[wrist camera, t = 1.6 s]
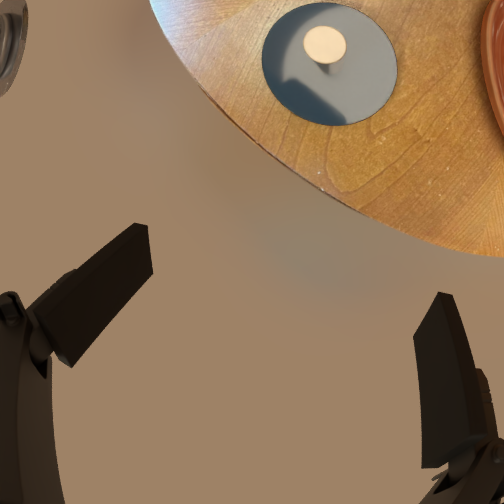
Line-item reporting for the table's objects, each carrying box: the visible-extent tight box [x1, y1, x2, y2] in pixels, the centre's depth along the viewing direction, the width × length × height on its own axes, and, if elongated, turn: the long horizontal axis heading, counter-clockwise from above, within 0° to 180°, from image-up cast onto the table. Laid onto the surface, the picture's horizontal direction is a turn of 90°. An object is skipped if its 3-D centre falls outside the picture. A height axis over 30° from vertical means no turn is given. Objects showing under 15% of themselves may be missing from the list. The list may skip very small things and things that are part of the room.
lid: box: [262, 3, 398, 126], centre depth 17 cm, size 12×12×10 cm
